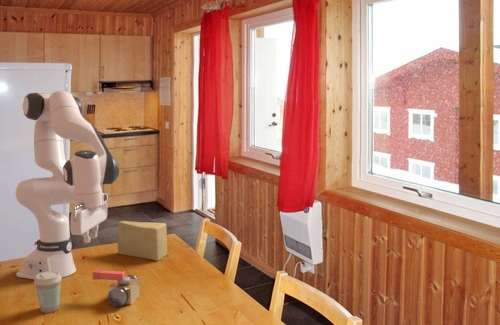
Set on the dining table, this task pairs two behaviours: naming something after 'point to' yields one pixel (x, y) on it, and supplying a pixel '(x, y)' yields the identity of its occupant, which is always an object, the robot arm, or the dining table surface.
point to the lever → (111, 276)
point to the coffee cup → (48, 290)
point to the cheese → (142, 239)
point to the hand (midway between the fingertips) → (90, 240)
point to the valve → (124, 292)
